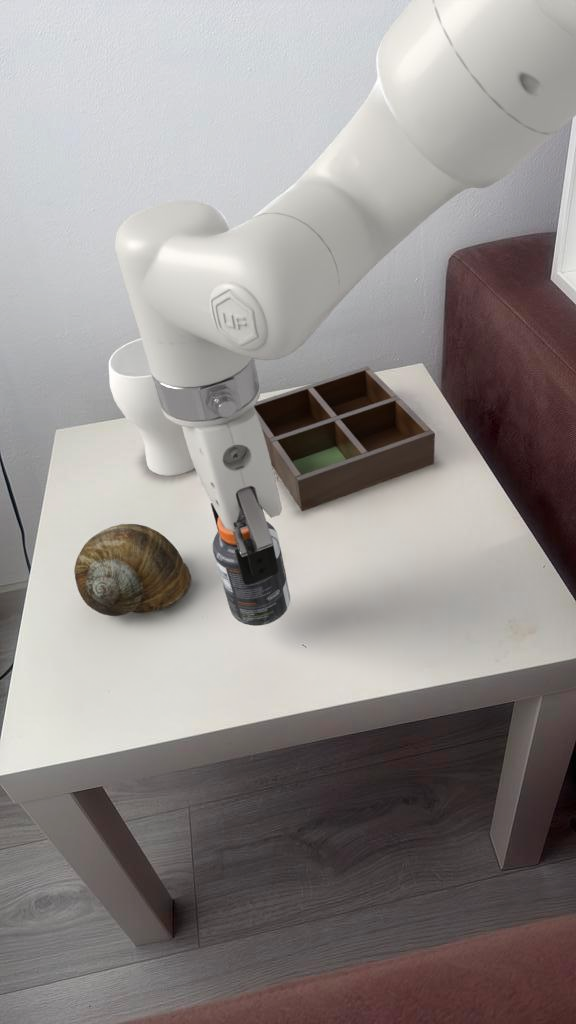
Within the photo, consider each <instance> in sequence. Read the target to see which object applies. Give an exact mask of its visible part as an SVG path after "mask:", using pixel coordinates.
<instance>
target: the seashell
mask: <svg viewBox="0 0 576 1024" xmlns="http://www.w3.org/2000/svg"><path fill="white" fill-rule="evenodd" d="M73 572H74V578H75V583H76V587H77V591H78V594H79V595H80V598H81V599H82V600H83V602H84V603H85V605H87V606H88V607H89V608H91V609H92V611H95V612H97V613H99V614H101V615H105V616H107V617H108V616H109V617H122V616H125V615H127V614H128V615H129V614H131V613H134V614H147V613H156V612H160V611H163V610H166V609H168V608H171V607H173V606H175V605H176V604H178V603H179V602H180V601H181V600H182V599H183V598H184V597H185V596H186V594H187V592H188V590H189V589H190V586H191V581H192V575H191V573H190V569H189V567H188V565H187V564H186V563H185V562H184V559H183V557H182V556H181V554H180V552H179V550H178V549H177V548H176V547H175V545H174V544H173V542H171V541H170V540H169V539H168V538H167V537H166V536H164V535H163V534H162V533H161V532H159V531H157V530H156V529H153V528H151V527H149V526H147V525H142V524H137V523H121V524H117V525H113V526H110V527H107V528H105V529H103V530H101V531H99V532H97V534H95V535H93V536H92V537H91V538H89V539H88V541H86V543H85V544H84V545H83V547H82V548H81V550H80V551H79V554H78V555H77V558H76V560H75V564H74V571H73Z"/></svg>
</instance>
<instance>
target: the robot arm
mask: <svg viewBox="0 0 576 1024" xmlns="http://www.w3.org/2000/svg"><path fill="white" fill-rule="evenodd" d="M375 60H376V62H375V64H376V73H377V77H376V81H375V83H374V84H373V87H372V89H371V91H370V93H369V94H368V96H367V97H366V99H365V100H364V101H363V103H362V104H361V106H360V107H359V108H358V110H357V111H356V112H355V114H354V115H353V116H352V118H351V119H350V120H349V121H348V122H347V124H346V125H345V126H344V127H343V128H342V130H340V131H339V133H338V134H337V136H335V138H334V139H333V140H332V141H331V143H329V145H328V146H326V148H325V150H324V151H322V152H321V154H320V155H319V156H318V157H317V159H316V160H314V162H313V163H312V164H311V165H310V166H309V167H308V169H307V170H305V172H304V173H303V174H302V175H301V176H300V177H299V178H298V179H297V180H296V181H295V182H294V183H293V184H292V185H291V186H290V187H289V188H287V189H285V191H284V192H282V193H281V194H279V195H278V196H277V197H276V198H274V199H273V200H272V201H270V202H269V203H268V204H266V205H265V206H264V207H263V208H262V209H261V210H259V211H258V212H257V213H255V214H254V215H253V216H252V217H251V218H249V219H248V220H247V221H245V222H243V223H241V224H238V225H236V226H235V227H233V228H231V227H230V225H229V221H228V220H227V218H226V217H225V215H224V214H223V212H222V211H221V210H219V208H217V207H216V206H214V205H212V204H210V203H207V202H204V201H198V200H174V201H168V202H167V201H166V202H161V203H158V204H153V205H151V206H148V207H146V208H144V209H141V210H139V211H136V212H135V213H134V214H132V215H130V216H128V217H127V218H126V219H125V220H124V221H123V222H122V224H121V225H120V226H119V227H118V228H117V232H116V235H115V238H114V248H115V249H114V250H115V253H116V258H117V261H118V265H119V268H120V272H121V275H122V278H123V282H124V286H125V288H126V292H127V295H128V299H129V302H130V303H129V304H130V306H131V310H132V312H133V315H134V319H135V322H136V326H137V329H138V333H139V336H140V338H141V340H142V343H143V347H144V350H145V353H146V357H147V360H148V363H149V367H150V370H151V375H152V378H153V381H154V385H155V388H156V392H157V395H158V398H159V402H160V405H161V408H162V412H163V414H164V416H165V417H166V418H167V419H168V420H169V421H172V422H173V423H175V424H178V425H181V426H182V429H183V432H184V436H185V440H186V443H187V446H188V449H189V453H190V456H191V459H192V461H193V464H194V467H195V468H194V469H195V471H196V474H197V476H198V479H199V480H200V483H201V485H202V487H203V489H204V491H205V492H206V495H207V497H208V499H209V501H210V502H211V503H210V507H211V510H212V513H213V517H214V521H215V525H216V529H217V532H218V531H219V529H218V525H217V520H218V517H220V519H221V521H222V523H223V525H224V526H225V528H226V529H228V530H230V531H233V534H234V537H235V541H236V544H237V547H238V549H236V550H235V553H236V557H237V561H238V565H239V569H240V573H241V577H242V580H243V582H244V584H245V585H250V584H253V583H255V582H258V581H260V580H263V579H266V578H268V577H271V576H273V575H276V574H277V573H278V571H279V570H278V565H277V560H276V555H275V550H274V545H273V541H272V539H271V535H270V532H269V529H268V525H267V522H268V521H267V519H266V515H265V513H266V514H267V516H268V517H269V518H270V519H272V518H275V517H278V516H280V515H281V512H282V510H283V506H282V502H281V498H280V493H279V488H278V485H277V481H276V476H275V472H274V468H273V466H272V464H271V460H270V456H269V452H268V448H267V445H266V441H265V438H264V434H263V431H262V428H261V425H260V422H259V419H258V416H257V413H256V411H255V408H254V405H255V404H256V402H258V401H259V399H260V396H261V387H260V382H259V376H258V371H257V370H258V369H257V367H256V360H259V361H275V360H280V359H283V358H286V357H289V356H290V355H292V354H294V352H296V351H297V350H298V349H300V348H301V347H302V346H303V345H304V344H305V343H306V342H307V340H309V338H311V336H312V335H313V334H314V333H315V332H316V331H317V329H319V327H320V326H321V325H322V324H323V323H324V322H325V321H326V320H327V318H329V316H330V315H331V313H332V312H333V311H334V309H335V308H336V307H337V306H338V305H339V304H340V303H341V302H342V301H343V299H345V297H347V295H348V294H349V293H350V292H351V291H352V290H353V289H354V288H355V287H356V286H357V285H358V284H359V283H360V282H361V281H362V280H363V278H364V277H365V276H366V275H367V274H368V273H369V272H370V271H371V270H372V269H374V268H375V266H376V265H377V264H379V263H380V262H381V261H382V259H384V258H385V257H386V256H387V255H388V254H389V253H390V252H391V251H392V250H394V249H395V248H396V247H397V246H398V245H399V244H400V243H401V242H402V241H404V240H405V239H406V238H407V237H408V236H409V235H410V234H412V233H413V232H414V230H416V229H417V228H418V227H419V226H420V225H422V224H423V223H424V222H425V221H426V220H427V219H428V218H430V217H431V216H432V215H433V214H435V212H436V211H438V210H439V209H440V208H441V207H443V206H444V205H445V204H446V203H448V202H449V201H451V199H453V198H454V197H456V196H457V195H459V194H460V193H462V192H464V191H466V190H468V189H472V188H474V189H485V188H488V187H490V186H493V185H494V184H496V183H497V182H499V181H501V180H502V179H503V178H505V177H507V176H508V175H509V174H510V173H511V172H513V170H515V169H516V168H517V167H519V165H521V164H522V163H523V162H524V161H526V159H528V158H529V157H531V155H532V154H533V153H534V152H535V151H537V150H538V149H539V148H541V146H542V145H543V144H545V143H546V142H547V141H548V140H549V139H551V138H552V137H553V136H554V135H556V133H558V132H559V130H560V129H562V128H564V126H565V125H567V124H568V123H569V122H570V121H571V120H572V119H574V118H575V117H576V0H411V1H410V2H409V4H408V5H407V6H406V7H405V9H404V10H403V11H402V12H401V13H400V15H398V17H397V18H396V19H395V20H394V22H393V23H392V24H391V26H390V27H389V28H388V29H387V31H386V33H385V34H384V36H383V38H382V40H381V41H380V44H379V46H378V49H377V51H376V57H375ZM240 511H242V514H243V515H242V516H239V512H240ZM238 516H239V517H238ZM266 521H267V522H266ZM245 526H247V527H248V530H249V533H250V538H248V539H246V540H245V541H244V539H243V536H242V533H241V530H240V528H242V527H245Z"/></svg>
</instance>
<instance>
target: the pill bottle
mask: <svg viewBox="0 0 576 1024" xmlns="http://www.w3.org/2000/svg"><path fill="white" fill-rule="evenodd" d="M242 515H243V514H242V511H240V512H239V516H242ZM239 516H238V517H239ZM266 522H267V525H268V529H269V532H270V535H271V539H272V541H273V545H274V550H275V555H276V560H277V565H278V570H279V571H278V573H277V574H276V575H273V576H271V577H268V578H266V579H263V580H260V581H258V582H255V583H253V584H250V585H245V584H244V582H243V580H242V577H241V573H240V569H239V565H238V561H237V557H236V553H235V550H236V549H238V547H237V544H236V541H235V537H234V534H233V531H230V530H228V529H226V528H225V526H224V525H223V523H222V521H221V519H220V517H218V520H217V525H218V529H219V531H218V529H217V532H216V534H215V536H214V538H213V540H212V553H213V557H214V559H215V561H216V562H215V563H216V565H217V570H218V573H219V575H220V579H221V584H222V586H223V590H224V593H225V597H226V601H227V604H228V607H229V610H230V613H231V615H232V616H233V617H234V619H236V620H237V621H238V622H240V623H242V624H244V625H247V626H253V627H255V626H256V627H258V626H259V627H260V626H265V625H269V624H272V623H274V622H276V621H277V620H279V619H280V618H281V617H282V616H283V615H285V613H286V612H287V611H288V609H289V607H290V603H291V593H290V592H291V591H290V589H289V583H288V578H287V573H286V568H285V564H284V563H285V562H284V559H283V553H282V548H281V545H280V539H279V536H278V532H277V530H276V528H275V527H274V526H273V525H272V524H271V523H270V522H268V521H267V520H266ZM217 525H216V526H217ZM240 530H241V533H242V536H243V539H244V541H245V540H246V539H248V538H250V533H249V530H248V527H247V526H245V527H242V528H240Z"/></svg>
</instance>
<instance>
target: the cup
mask: <svg viewBox="0 0 576 1024" xmlns="http://www.w3.org/2000/svg"><path fill="white" fill-rule="evenodd" d="M108 377H109V378H108V379H109V381H108V382H109V388H110V391H111V394H112V397H113V400H114V402H115V404H116V406H117V407H118V408H119V410H120V411H121V413H122V414H123V415H124V417H125V419H126V420H127V421H129V422H130V423H131V424H132V425H133V426H134V427H135V428H136V429H137V430H138V432H139V434H140V436H141V438H142V441H143V443H144V452H145V460H146V466H147V467H148V469H149V470H150V471H151V472H152V473H154V474H157V475H159V476H169V477H170V476H179V475H183V474H185V473H188V472H190V471H192V470H193V469H195V467H194V464H193V461H192V459H191V456H190V453H189V449H188V446H187V443H186V440H185V436H184V432H183V429H182V426H181V425H178V424H175V423H173V422H172V421H169V420H168V419H167V418H166V417H165V416H164V414H163V412H162V408H161V405H160V402H159V398H158V395H157V392H156V388H155V385H154V381H153V378H152V375H151V370H150V367H149V363H148V360H147V357H146V353H145V350H144V347H143V343H142V340H141V337H140V338H137V339H135V340H132V341H130V342H129V341H128V342H127V343H126V344H124V345H123V344H122V346H120V347H119V348H117V349H116V350H114V352H113V353H112V354H111V356H110V358H109V360H108Z"/></svg>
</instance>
